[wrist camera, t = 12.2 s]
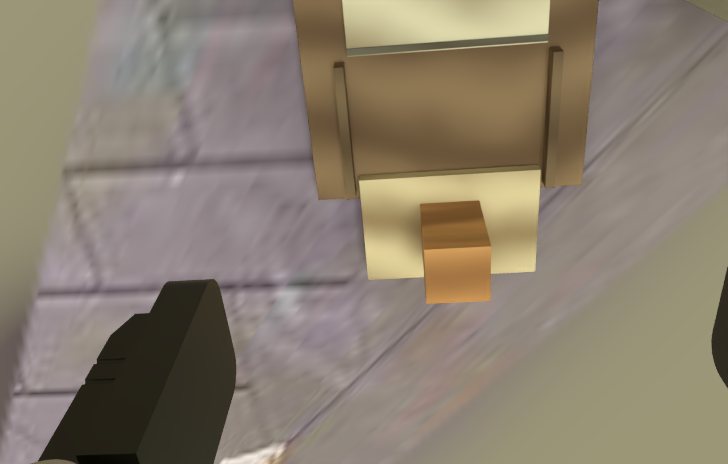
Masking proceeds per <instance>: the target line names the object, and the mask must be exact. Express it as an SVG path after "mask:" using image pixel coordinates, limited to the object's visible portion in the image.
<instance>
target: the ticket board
mask: <svg viewBox="0 0 728 464" xmlns="http://www.w3.org/2000/svg"><path fill="white" fill-rule="evenodd" d="M598 2H599V0H293V6H294V13H295V21H296V29H297V36H298V44H299V52H300V59H301V67H302V75H303V83H304V90H305V98H306V106H307V113H308V121H309V129H310V136H311V144H312V152H313V159H314V167H315V175H316V183H317V190H318V198H319V200H327V199H344V198H347V200H351V199H356V198H361V197H360V186H359V176H362V175H378V174H395V173H411V172H428V171H444V170H461V169H477V168H494V167H510V166H527V165H539V167H540V169H541V175H540V187H545V188H555V186H567V185H582V176H583V165H584V154H585V143H586V132H587V122H588V111H589V100H590V89H591V78H592V67H593V56H594V46H595V35H596V24H597V13H598Z"/></svg>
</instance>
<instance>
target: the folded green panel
mask: <svg viewBox="0 0 728 464" xmlns="http://www.w3.org/2000/svg"><path fill="white" fill-rule="evenodd" d="M684 1H686V2H688V3H690V4H692V5H694V6H696V7H698V8H700V9H702V10H704V11H707V12H709V13H711V14H713V15H715V16H717V17H719V18H721V19H723V20H725V21H727V22H728V0H684Z"/></svg>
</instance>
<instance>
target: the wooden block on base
mask: <svg viewBox="0 0 728 464" xmlns="http://www.w3.org/2000/svg"><path fill="white" fill-rule="evenodd" d="M540 175H541V169H540V167H539V165H527V166H510V167H494V168H477V169H461V170H444V171H428V172H411V173H395V174H378V175H362V176H359V186H360V197H361V207H362V218H363V229H364V239H365V250H366V260H367V271H368V280H373V279H393V278H413V277H424V281H425V293H426V304H432V303H453V302H474V301H490V292H491V274H494V273H514V272H534V271H535V263H536V246H537V228H538V211H539V193H540Z"/></svg>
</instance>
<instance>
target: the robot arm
mask: <svg viewBox="0 0 728 464" xmlns="http://www.w3.org/2000/svg"><path fill="white" fill-rule="evenodd" d="M712 354H713V359H714V363H715V366H716V369H717V371H718V373H719V375H720V377H721V378H722V380H723V382H724V383H725V385H726V386H727V388H728V268H727V272H726V276H725V280H724V285H723V289H722V293H721V298H720V302H719V306H718V311H717V315H716V320H715V324H714V328H713V334H712ZM235 383H236V359H235V352H234V348H233V343H232V339H231V335H230V330H229V326H228V322H227V318H226V313H225V309H224V305H223V300H222V296H221V292H220V288H219V286H218V284H217V282H216V281H215V280H214V279H207V280H187V281H169V282H167V283H166V284H165V285H164V286H163V288H162V290H161V292H160V294H159V296H158V298H157V300H156V302H155V303H154V305H153V307H152V309H151V311H150V313H144V314H135V315H133V316H132V317H131V318H130V319H129V320H128V321H127V322H125V323H124V324H123V325H122V326H121V327H120V328H118V329H117V330H116V331H115V332H114V333H113V334H112V335H111V336H110V337H109V339H108V341H107V342H106V344H105V346H104V348H103V349H102V351H101V353H100V355H99V356H98V358H97V364H94V365H93V367H92V368H91V370H90V372H89V374H88V375H87V377H86V379H85V385H82V386H81V388H80V389H79V391H78V393H77V394H76V396H75V398H74V400H73V401H72V403H71V405H70V407H69V408H68V410H67V412H66V413H65V415H64V417H63V419H62V420H61V422H60V424H59V426H58V427H57V429H56V431H55V433H54V434H53V436H52V438H51V439H50V441H49V443H48V445H47V446H46V448H45V450H44V452H43V453H42V455H41V457H40V458H39V460H38V462H35V463H31V464H213V463H214V460H215V456H216V453H217V449H218V446H219V442H220V439H221V435H222V432H223V428H224V425H225V421H226V418H227V414H228V411H229V407H230V404H231V400H232V397H233V394H234V389H235Z"/></svg>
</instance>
